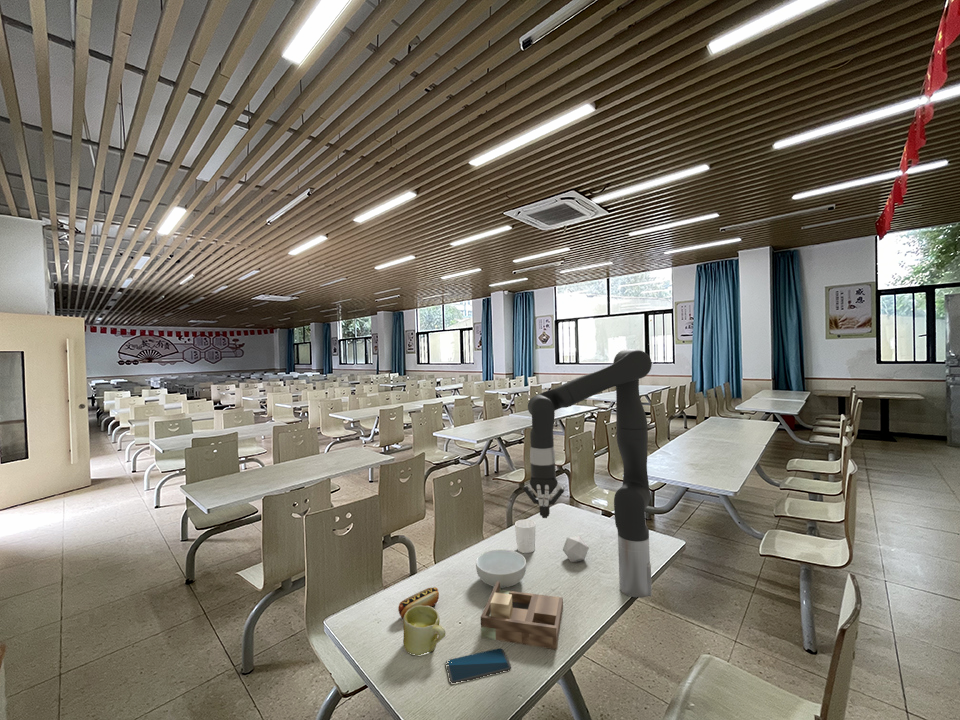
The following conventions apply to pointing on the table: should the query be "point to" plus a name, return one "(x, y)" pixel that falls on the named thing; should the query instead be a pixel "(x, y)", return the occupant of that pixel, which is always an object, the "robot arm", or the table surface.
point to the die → (575, 548)
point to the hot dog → (419, 600)
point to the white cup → (525, 535)
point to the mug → (421, 630)
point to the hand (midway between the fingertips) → (544, 517)
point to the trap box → (525, 620)
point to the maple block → (501, 605)
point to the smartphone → (478, 665)
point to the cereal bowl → (501, 567)
